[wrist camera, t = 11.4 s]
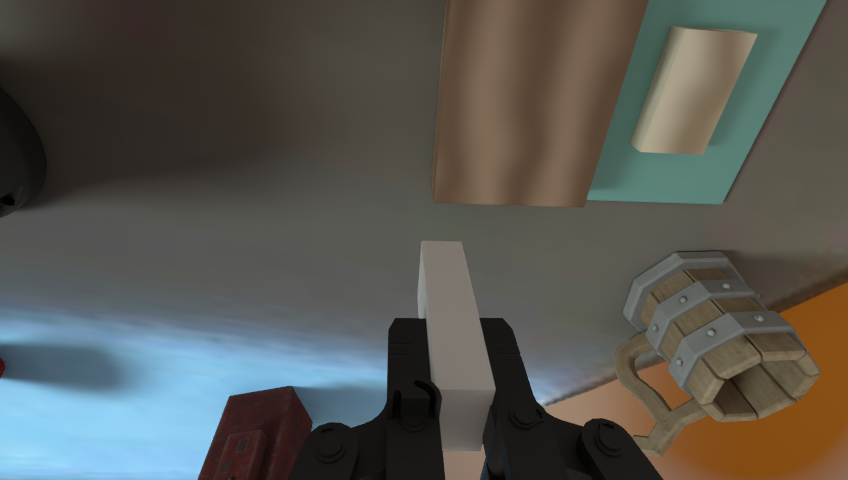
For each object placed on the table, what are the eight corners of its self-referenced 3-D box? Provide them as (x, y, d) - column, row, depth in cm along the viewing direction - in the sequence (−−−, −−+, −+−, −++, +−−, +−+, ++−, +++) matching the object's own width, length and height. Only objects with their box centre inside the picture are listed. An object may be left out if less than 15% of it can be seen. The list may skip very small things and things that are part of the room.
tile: (702, 154, 38) (690, 146, 40) (757, 34, 33) (740, 30, 35) (640, 151, 38) (629, 143, 40) (685, 28, 32) (671, 25, 34)
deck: (430, 183, 41) (433, 202, 38) (451, -70, 30) (458, -74, 27) (569, 188, 42) (583, 207, 39) (637, -54, 31) (666, -56, 28)
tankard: (705, 230, 46) (818, 330, 34) (748, 290, 52) (860, 395, 39) (556, 328, 54) (605, 440, 41) (608, 371, 59) (665, 482, 46)
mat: (571, 197, 43) (573, 199, 43) (648, -70, 31) (652, -70, 31) (718, 202, 44) (721, 204, 44) (847, -52, 32) (853, -52, 32)
